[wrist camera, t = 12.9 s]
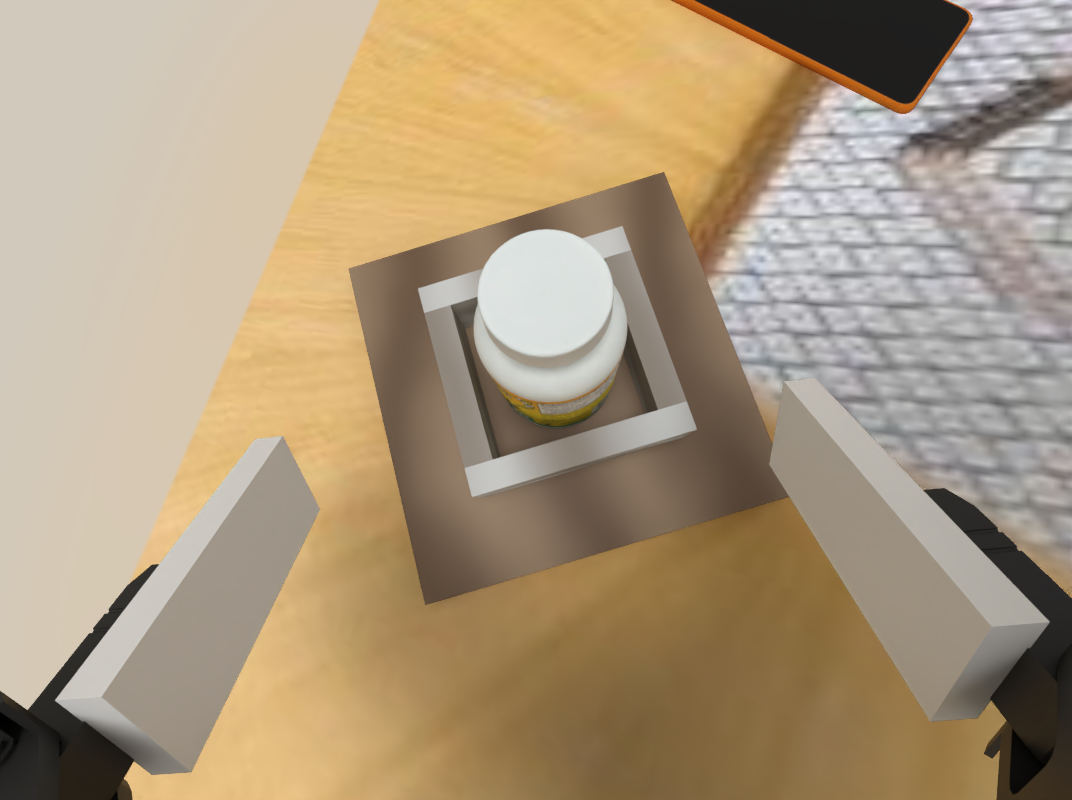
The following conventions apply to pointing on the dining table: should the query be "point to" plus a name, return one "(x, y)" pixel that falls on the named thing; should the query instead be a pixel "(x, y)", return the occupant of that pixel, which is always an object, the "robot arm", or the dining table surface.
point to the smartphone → (852, 39)
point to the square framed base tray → (573, 452)
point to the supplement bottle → (550, 326)
